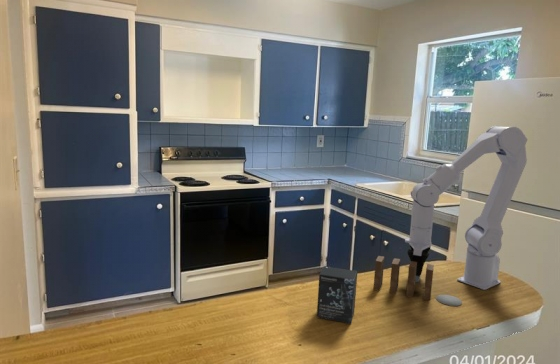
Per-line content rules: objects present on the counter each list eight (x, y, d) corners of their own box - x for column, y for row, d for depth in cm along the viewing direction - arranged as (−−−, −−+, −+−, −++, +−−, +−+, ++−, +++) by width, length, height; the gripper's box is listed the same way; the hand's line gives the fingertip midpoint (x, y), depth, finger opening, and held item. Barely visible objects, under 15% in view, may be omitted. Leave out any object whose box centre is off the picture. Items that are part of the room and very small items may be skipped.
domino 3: (414, 290, 107) (417, 262, 106) (412, 297, 103) (415, 267, 102) (408, 289, 108) (410, 261, 106) (406, 295, 104) (408, 266, 102)
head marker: (461, 298, 103) (461, 297, 103) (462, 308, 98) (462, 307, 98) (436, 293, 106) (436, 292, 106) (435, 302, 100) (435, 302, 100)
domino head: (420, 276, 117) (422, 250, 115) (418, 282, 113) (421, 255, 111) (414, 275, 117) (416, 249, 116) (412, 281, 113) (415, 254, 112)
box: (316, 318, 90) (318, 273, 89) (321, 307, 96) (323, 265, 94) (351, 325, 88) (354, 279, 86) (354, 313, 93) (357, 270, 92)
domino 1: (382, 284, 110) (384, 256, 109) (379, 290, 106) (381, 261, 105) (376, 283, 111) (378, 255, 110) (373, 289, 107) (375, 260, 106)
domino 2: (397, 287, 109) (400, 259, 107) (395, 293, 105) (398, 264, 103) (391, 286, 109) (394, 258, 108) (389, 292, 105) (391, 263, 104)
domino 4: (430, 293, 105) (433, 264, 104) (430, 300, 101) (433, 270, 100) (424, 292, 106) (427, 263, 105) (423, 299, 102) (426, 269, 101)
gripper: (409, 218, 121) (405, 261, 123) (403, 230, 107) (399, 278, 110) (434, 221, 118) (429, 266, 120) (431, 234, 105) (426, 283, 107)
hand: (417, 272), depth 115 cm, fingers closed on domino head, 4 cm apart
